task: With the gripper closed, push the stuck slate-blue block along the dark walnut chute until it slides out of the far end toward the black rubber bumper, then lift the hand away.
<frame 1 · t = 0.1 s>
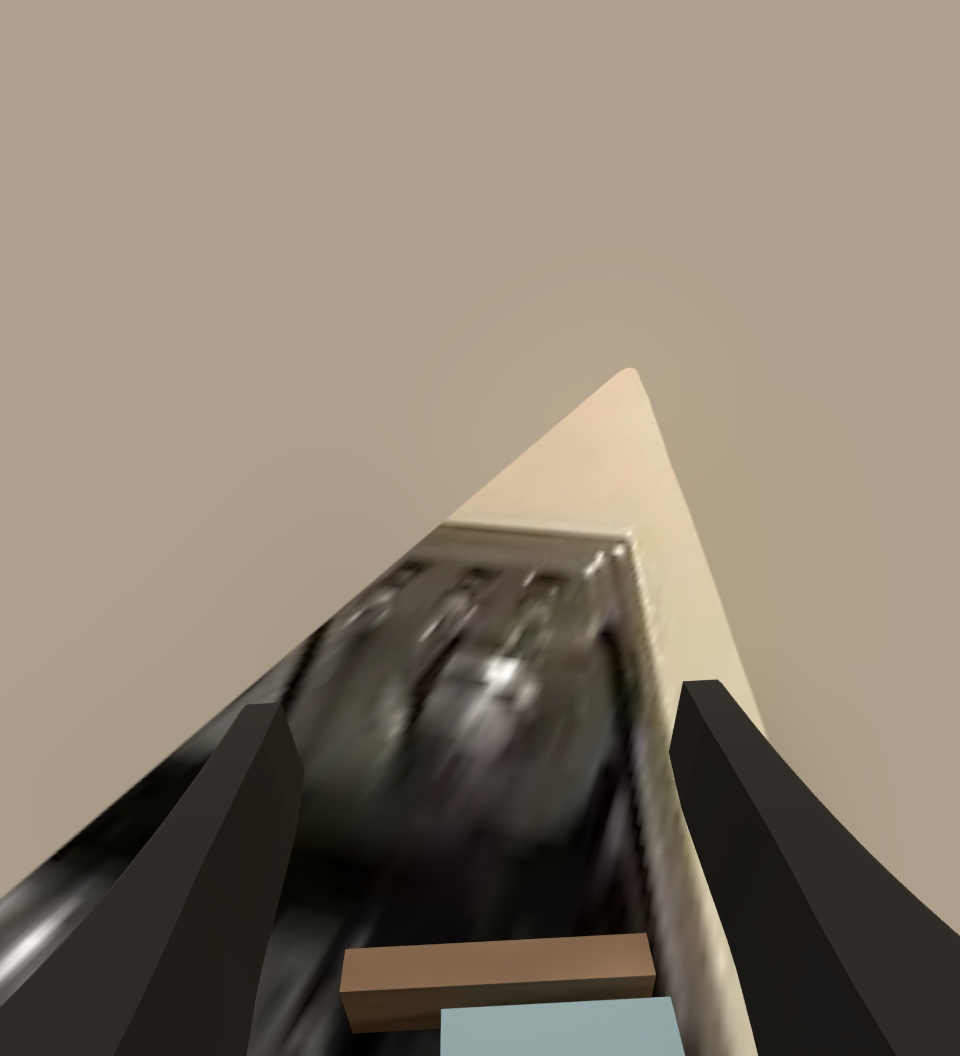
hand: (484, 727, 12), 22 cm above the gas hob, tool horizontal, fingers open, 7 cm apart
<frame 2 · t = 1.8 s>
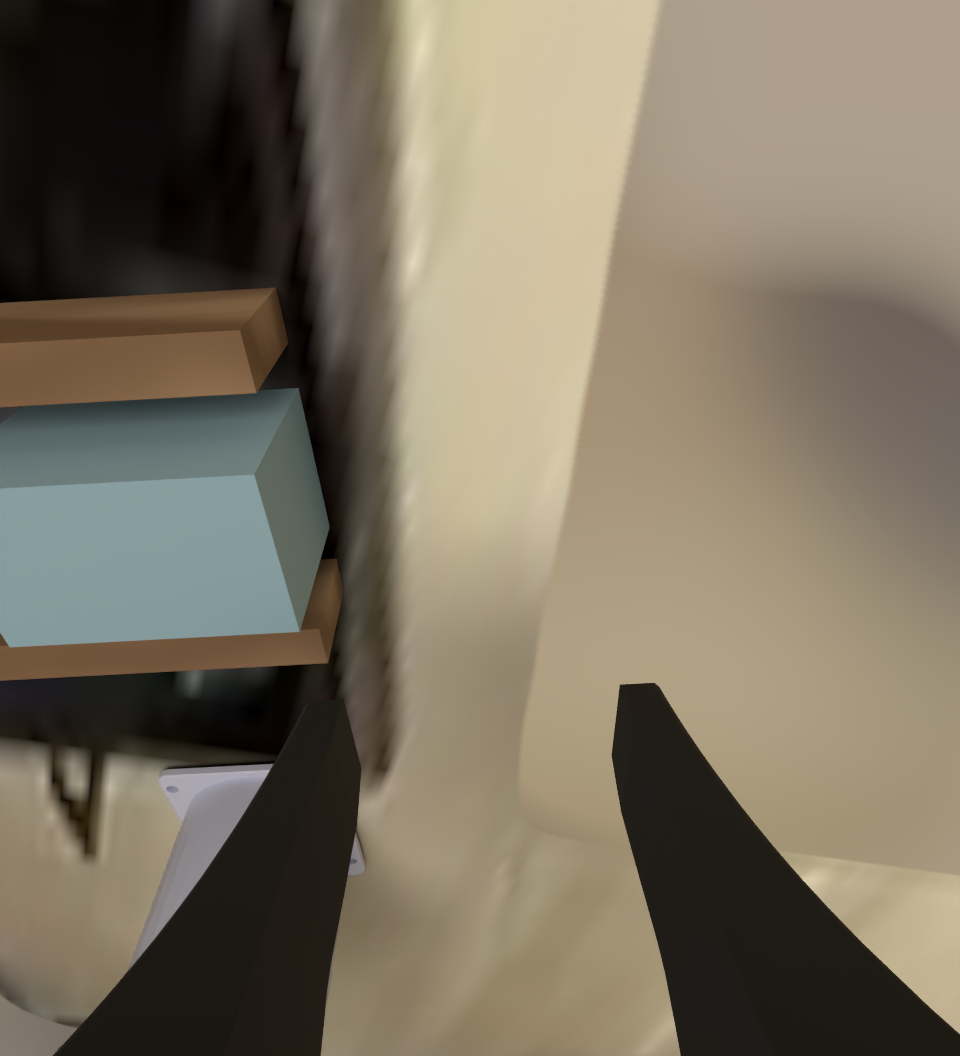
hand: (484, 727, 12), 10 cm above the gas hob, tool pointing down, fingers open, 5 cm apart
chute: (125, 472, 20), on the gas hob
block: (158, 513, 18), point 2 cm above the gas hob, slide at 0.0 cm
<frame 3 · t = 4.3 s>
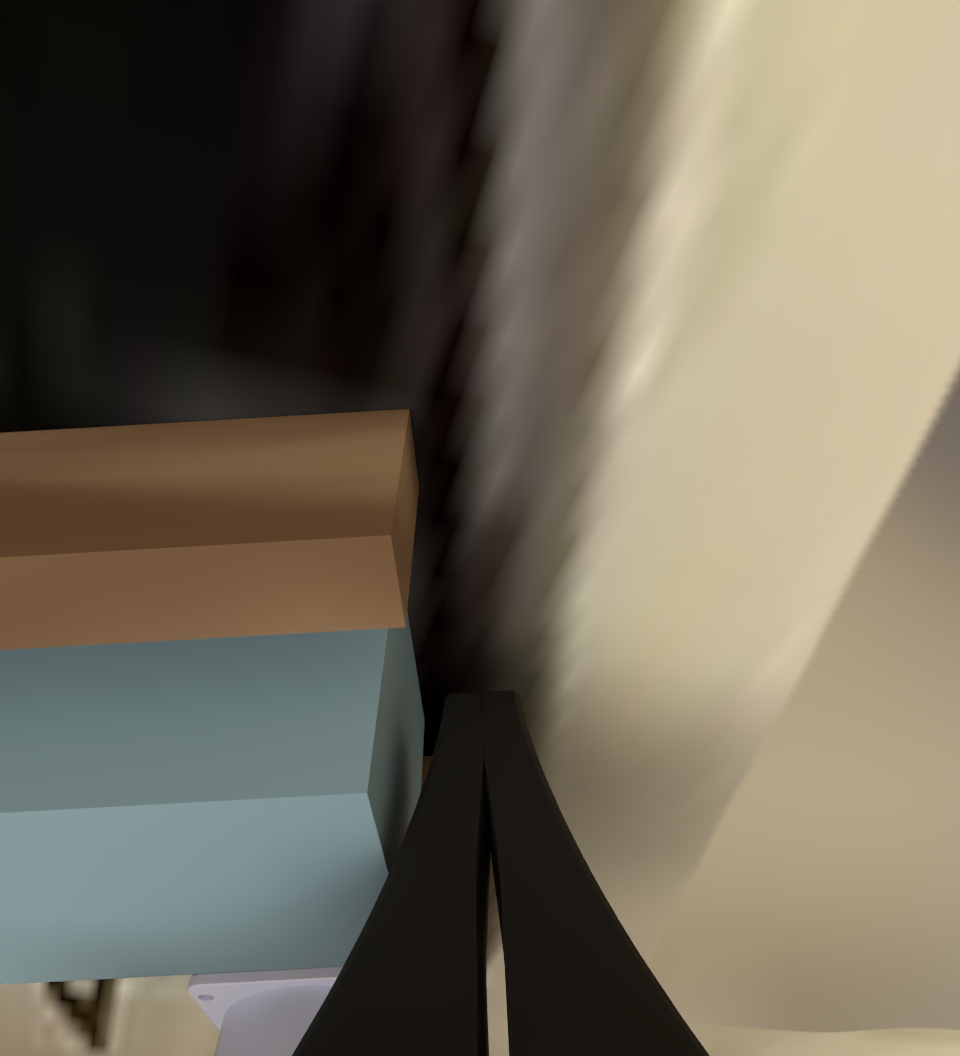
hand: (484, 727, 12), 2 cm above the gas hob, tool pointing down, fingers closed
chute: (155, 658, 14), on the gas hob
block: (182, 757, 12), point 3 cm above the gas hob, slide at 0.6 cm, touching gripper
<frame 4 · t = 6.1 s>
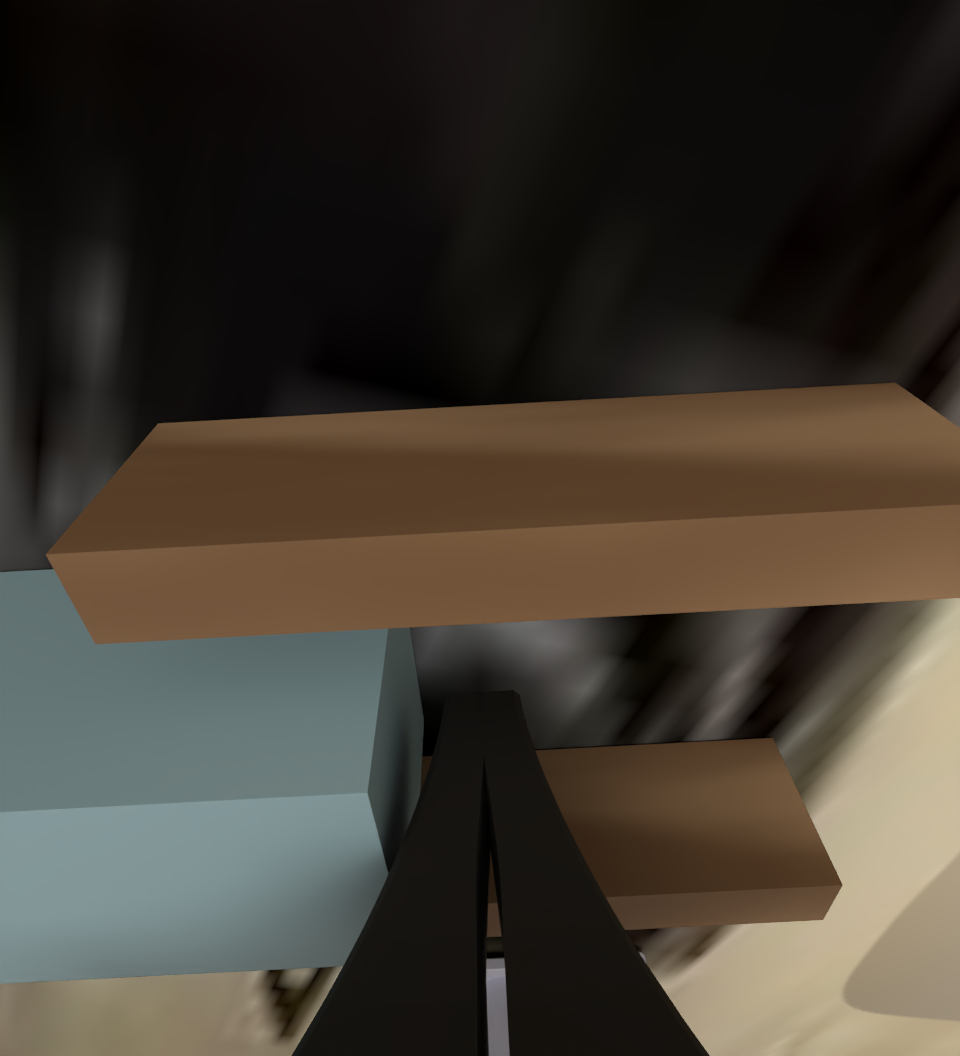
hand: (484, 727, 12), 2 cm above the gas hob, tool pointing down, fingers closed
chute: (527, 638, 14), on the gas hob
block: (181, 757, 12), point 3 cm above the gas hob, slide at 8.4 cm, touching gripper
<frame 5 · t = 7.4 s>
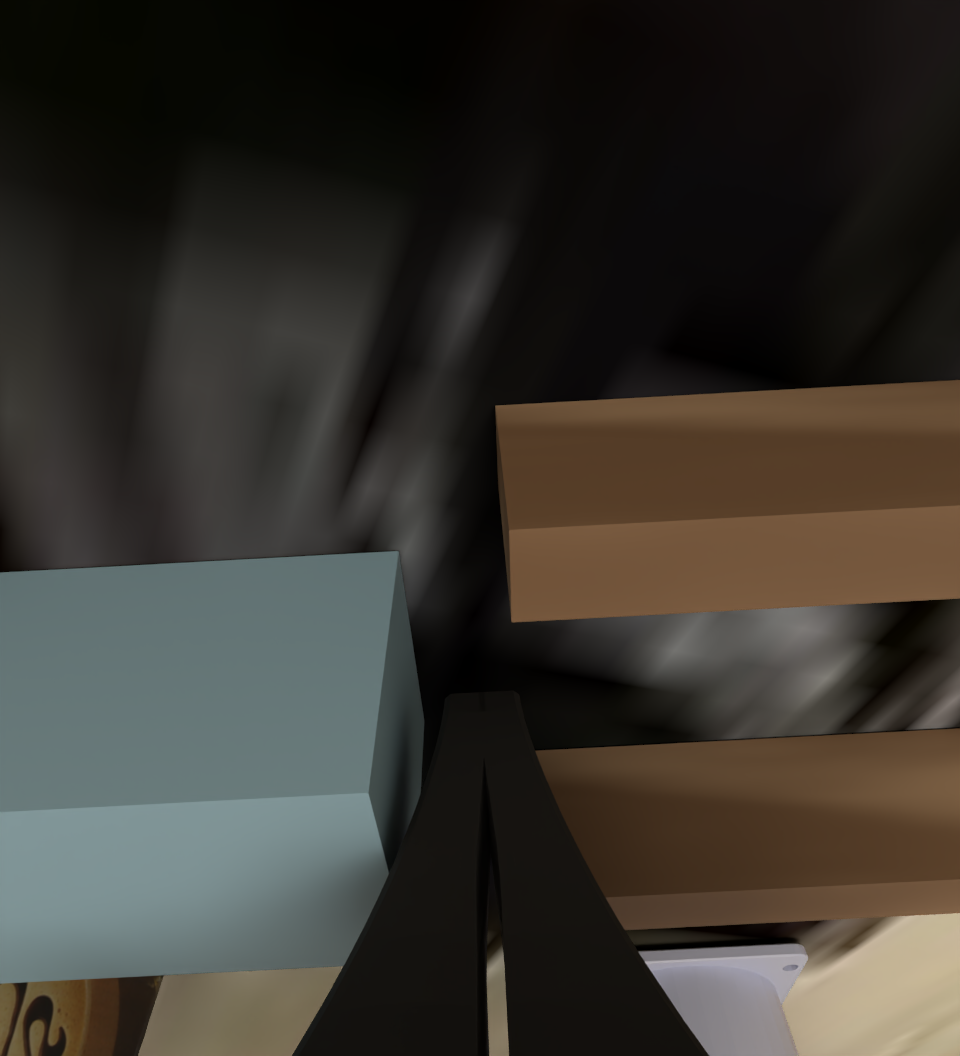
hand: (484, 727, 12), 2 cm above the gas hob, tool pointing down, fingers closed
cookie box: (5, 878, 19), on the gas hob
chute: (788, 624, 14), on the gas hob
block: (182, 757, 12), point 2 cm above the gas hob, slide at 13.9 cm, touching gripper
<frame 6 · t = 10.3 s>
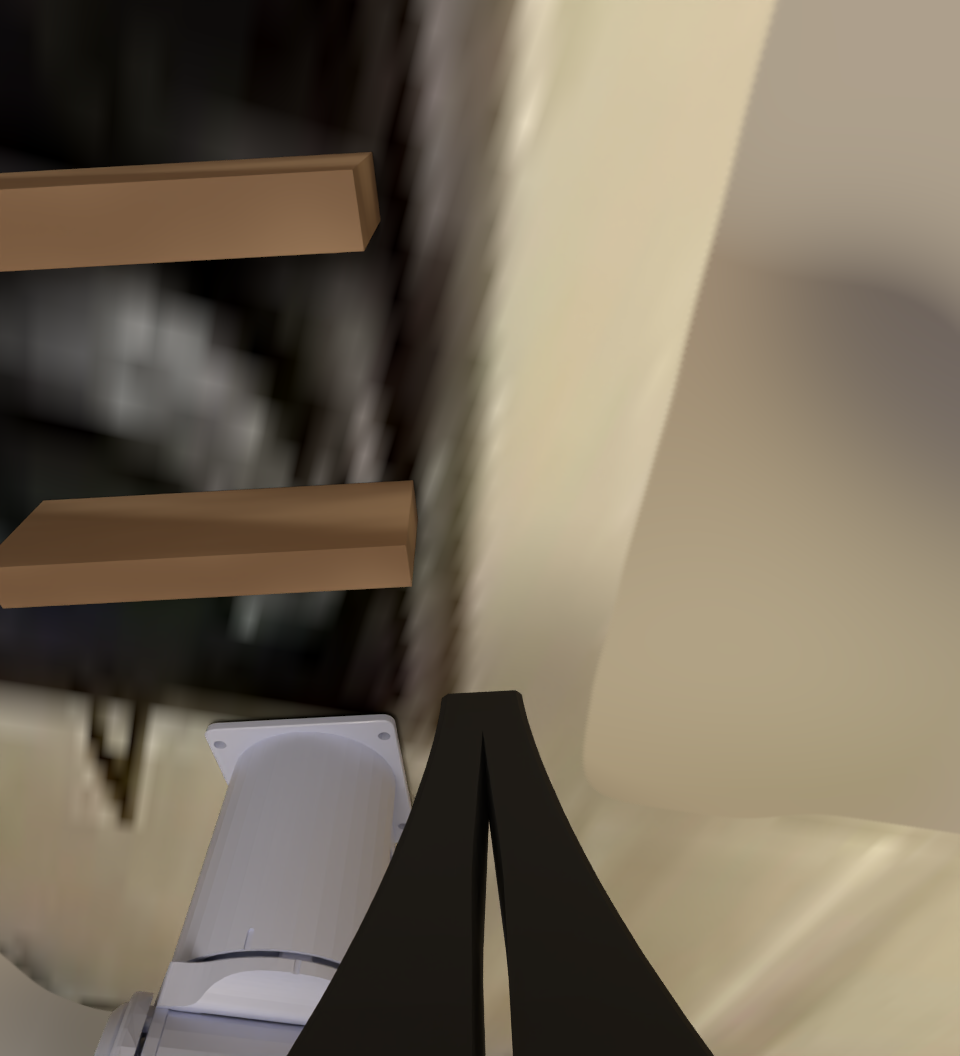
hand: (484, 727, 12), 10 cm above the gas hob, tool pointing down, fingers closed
chute: (191, 377, 19), on the gas hob
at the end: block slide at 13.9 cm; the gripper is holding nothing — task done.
